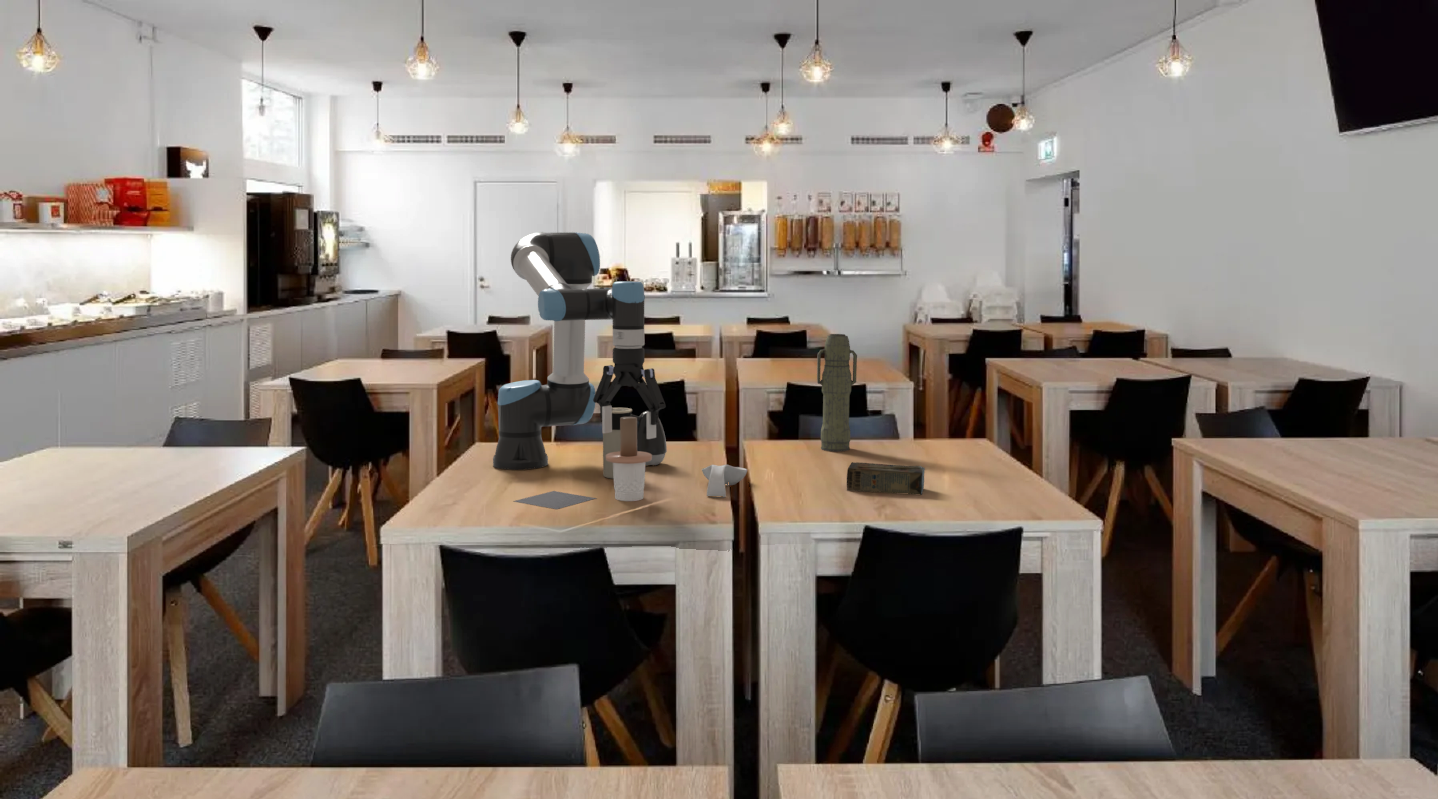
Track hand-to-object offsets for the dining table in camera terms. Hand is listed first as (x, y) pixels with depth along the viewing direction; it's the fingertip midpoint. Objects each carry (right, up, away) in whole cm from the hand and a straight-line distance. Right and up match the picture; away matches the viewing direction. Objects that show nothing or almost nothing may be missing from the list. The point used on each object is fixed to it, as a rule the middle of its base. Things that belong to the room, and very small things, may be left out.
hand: (628, 435), depth 263 cm
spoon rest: (+22, -14, +17) cm, 31 cm away
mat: (-18, -16, 0) cm, 24 cm away
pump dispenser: (+2, -10, +47) cm, 48 cm away
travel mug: (-5, -12, +30) cm, 32 cm away
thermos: (+57, -7, +73) cm, 93 cm away
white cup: (0, -16, +2) cm, 16 cm away
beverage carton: (+64, -15, +15) cm, 67 cm away
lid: (0, -6, +1) cm, 6 cm away
